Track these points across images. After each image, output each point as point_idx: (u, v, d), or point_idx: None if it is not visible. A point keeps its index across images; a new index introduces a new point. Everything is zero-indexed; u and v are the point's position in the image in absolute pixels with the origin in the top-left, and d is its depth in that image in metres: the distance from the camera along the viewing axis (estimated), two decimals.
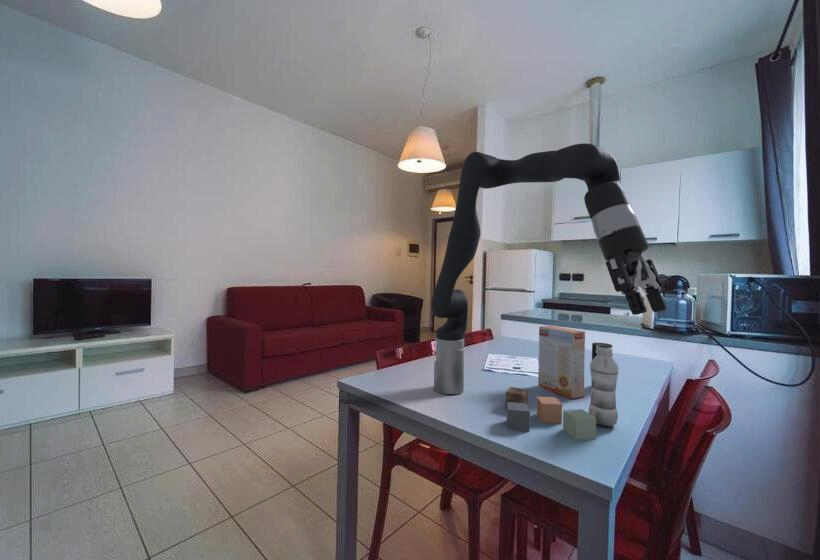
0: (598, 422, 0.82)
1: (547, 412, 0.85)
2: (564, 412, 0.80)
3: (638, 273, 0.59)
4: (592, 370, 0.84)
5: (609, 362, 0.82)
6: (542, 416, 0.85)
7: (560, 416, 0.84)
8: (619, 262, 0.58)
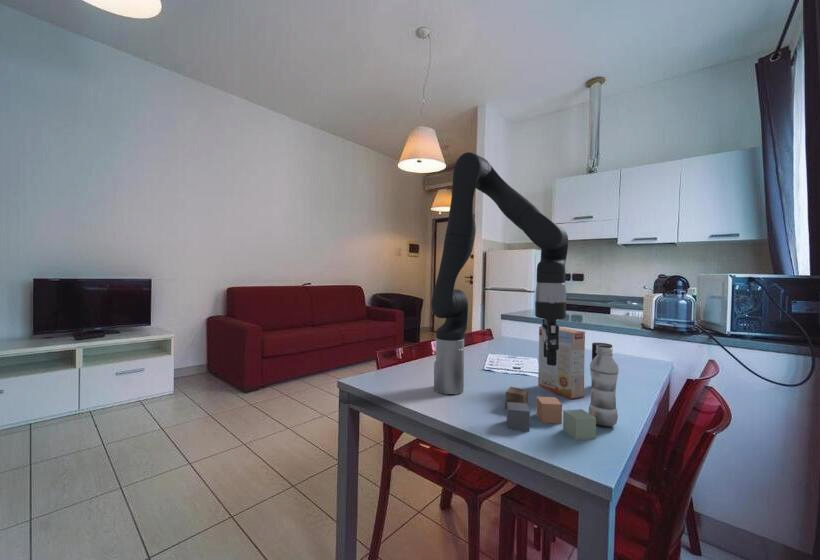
0: (598, 422, 0.82)
1: (547, 412, 0.85)
2: (564, 412, 0.80)
3: None
4: (592, 370, 0.84)
5: (609, 362, 0.82)
6: (542, 416, 0.85)
7: (560, 416, 0.84)
8: (557, 330, 0.80)
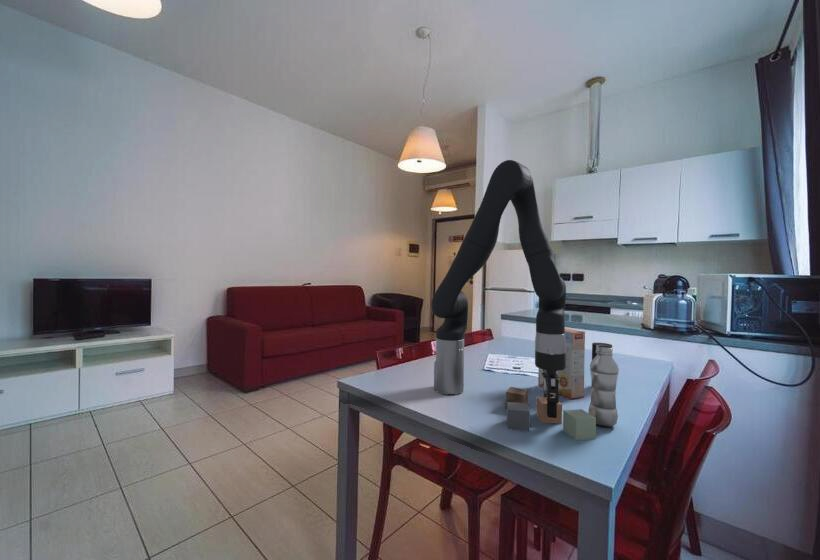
0: (598, 422, 0.82)
1: None
2: (564, 412, 0.80)
3: None
4: (592, 370, 0.84)
5: (609, 362, 0.82)
6: (542, 416, 0.85)
7: (560, 416, 0.84)
8: (557, 384, 0.80)
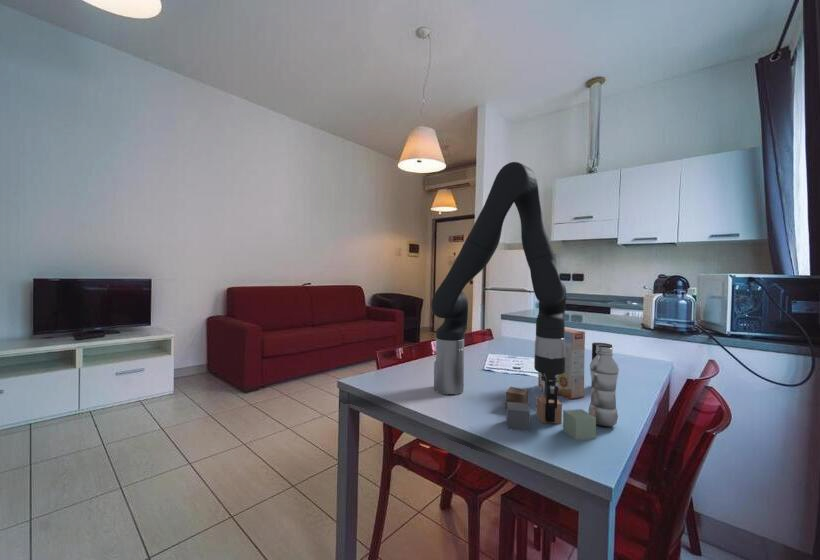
0: (598, 422, 0.82)
1: None
2: (564, 412, 0.80)
3: None
4: (592, 370, 0.84)
5: (609, 361, 0.82)
6: (542, 416, 0.85)
7: (560, 416, 0.84)
8: (556, 391, 0.80)
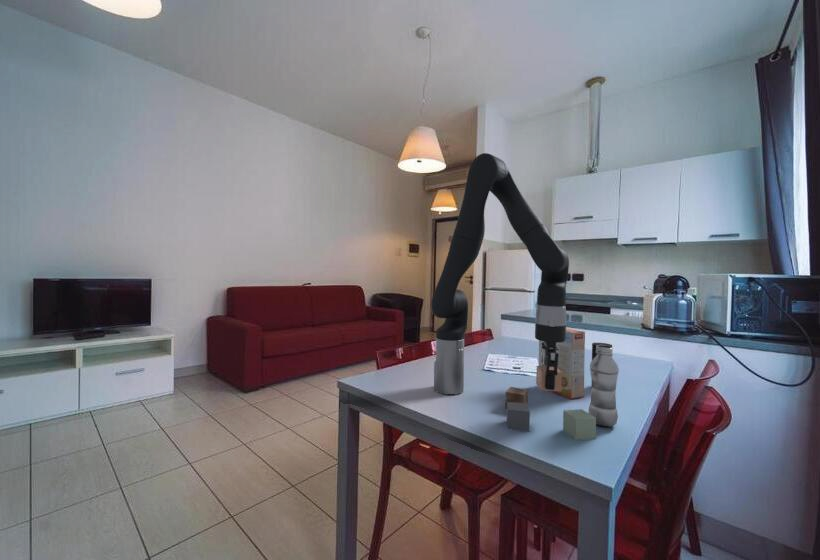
0: (598, 422, 0.82)
1: None
2: (564, 412, 0.80)
3: None
4: (592, 370, 0.84)
5: (609, 361, 0.82)
6: (542, 384, 0.85)
7: (560, 384, 0.85)
8: (557, 358, 0.80)
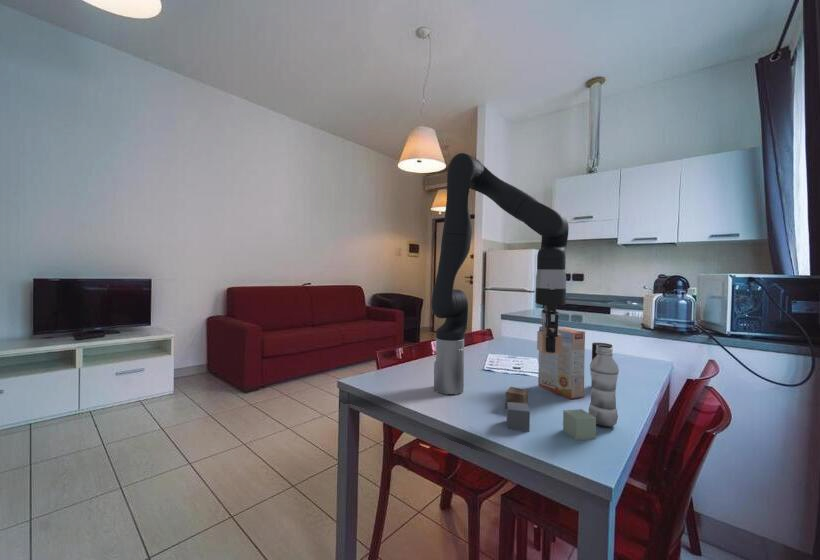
0: (598, 422, 0.82)
1: None
2: (564, 412, 0.80)
3: None
4: (592, 370, 0.84)
5: (609, 362, 0.82)
6: (542, 347, 0.86)
7: (560, 346, 0.85)
8: (557, 319, 0.81)
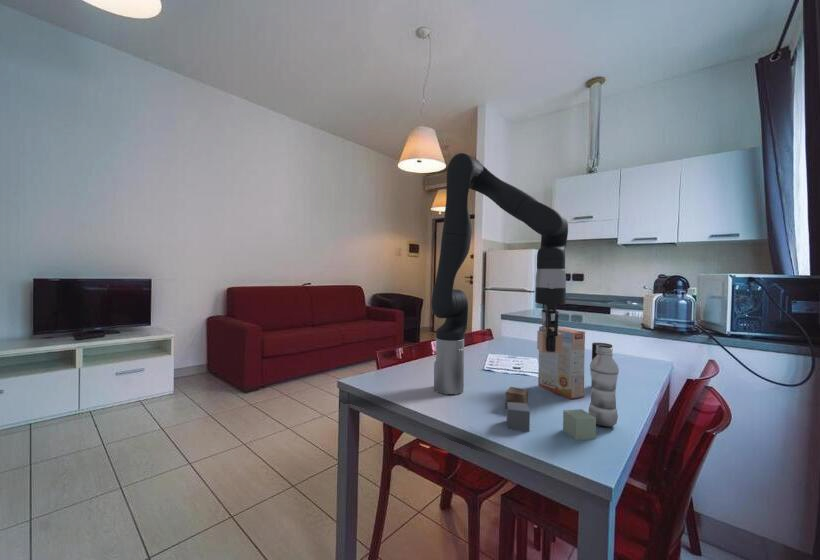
0: (598, 422, 0.82)
1: None
2: (564, 412, 0.80)
3: None
4: (592, 370, 0.84)
5: (609, 362, 0.82)
6: (543, 346, 0.86)
7: (560, 346, 0.85)
8: (557, 318, 0.81)
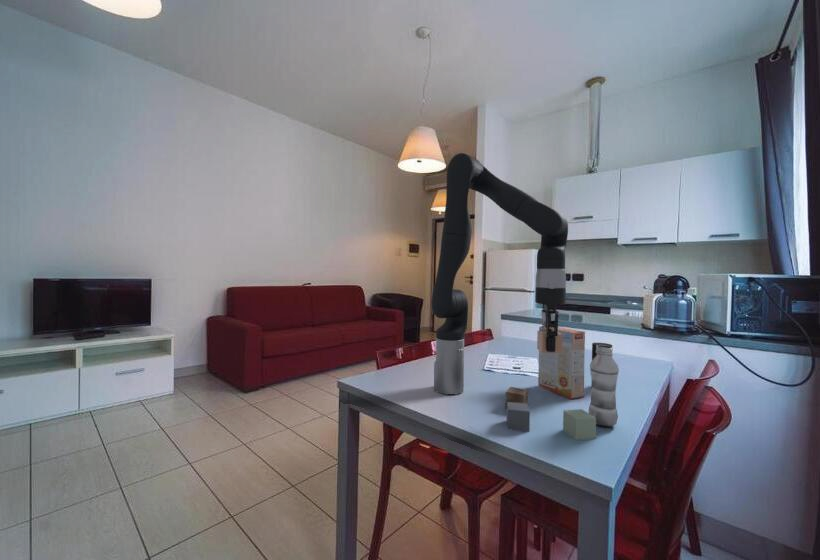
0: (598, 422, 0.82)
1: None
2: (564, 412, 0.80)
3: None
4: (592, 370, 0.84)
5: (609, 362, 0.82)
6: (543, 346, 0.86)
7: (560, 346, 0.85)
8: (557, 318, 0.81)
